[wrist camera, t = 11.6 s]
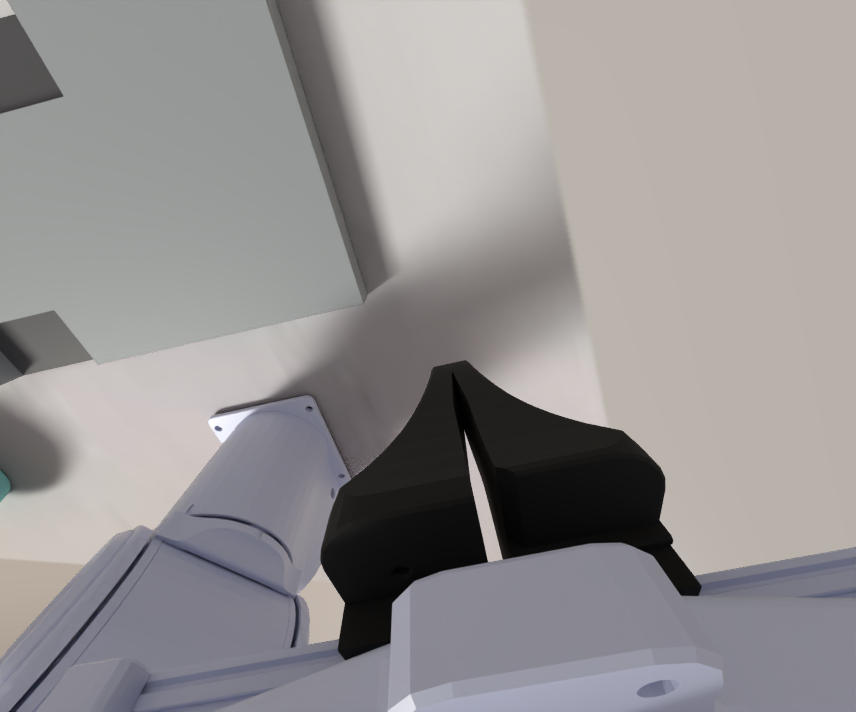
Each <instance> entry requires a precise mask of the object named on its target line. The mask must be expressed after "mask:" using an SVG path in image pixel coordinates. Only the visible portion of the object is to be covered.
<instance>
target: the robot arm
mask: <svg viewBox="0 0 856 712" xmlns="http://www.w3.org/2000/svg"><path fill="white" fill-rule="evenodd" d="M307 406H310V407H312V408H313V409H309V408H308V407H307ZM208 424H209V425H210V427H211V428H212V430H213V431H214V433H215V434H216V436H217V437H218V439H219V440H220V442H221V443H222V445H221V446H220V448H219V449H218V450H217V451H216V453H215V454H214V455H213V457H212V458H211V459H210V460H209V462H208V463H207V464H206V465H205V467H204V468H203V469H202V471H201V472H200V473H199V474H198V476H197V477H196V478H195V479H194V481H193V482H192V483H191V485H190V486H189V487H188V488H187V490H186V491H185V492H184V493H183V495H182V496H181V497H180V499H179V500H178V501H177V502H176V504H175V505H174V506H173V507H172V509H171V510H170V511H169V513H168V514H167V515H166V516H165V518H164V519H163V520H162V521H161V523H160V524H159V525H158V526H157V527H156V528H155V529H154V530H153V531H152V530H151V529H149V528H147V527H145V526H142V525H140V526H137V527H136V528H134V529H133V530H128V531H125V532H122V533H119V534H116V535H115V536H114V537H113V538H112V539H111V540H109V541H108V542H107V543H106V544H105V545H104V546H103V547H102V548H101V549H100V551H99V552H98V553H97V554H96V555H95V556H94V557H93V558H92V559H91V560H90V561H89V562H88V563H87V564H86V565H85V566H84V567H83V568H82V569H81V570H80V571H79V573H78V574H77V575H76V576H75V577H74V578H73V579H72V580H71V581H70V582H69V583H68V584H67V585H66V586H65V587H64V589H63V590H62V591H61V592H60V593H59V594H58V595H57V596H56V597H55V598H54V599H53V600H52V601H51V603H50V604H49V605H48V606H47V607H46V608H45V609H44V610H43V611H42V613H40V615H39V616H38V617H37V618H36V619H35V620H34V621H33V622H32V623H31V624H30V626H29V627H28V628H27V629H26V630H25V631H24V632H23V633H22V634H21V635H20V637H19V638H18V639H17V640H16V641H15V642H14V643H13V644H12V645H11V647H10V648H9V649H8V650H7V651H6V652H5V653H4V654H3V656H2V657H1V658H0V712H856V547H854V548H848V549H843V550H837V551H831V552H826V553H821V554H815V555H809V556H803V557H798V558H792V559H786V560H781V561H775V562H770V563H764V564H758V565H753V566H747V567H742V568H736V569H730V570H725V571H719V572H713V573H708V574H702V575H697V576H694V575H693V574H692V572H691V571H690V570H689V569H688V567H687V566H686V565H685V563H684V562H683V561H682V560H681V558H680V557H679V556H678V554H677V553H676V552H675V550H674V549H673V548H672V547H671V544H672V543H673V539H672V536H671V534H670V533H669V532H668V531H667V529H666V528H665V527H664V526H663V524H662V523H661V522H660V521H659V519H660V514H661V509H662V504H663V498H664V493H665V476H664V474H663V472H662V470H661V468H660V467H659V466H658V465H657V464H656V463H655V461H654V460H652V458H651V457H650V456H649V455H648V454H647V453H646V452H645V451H644V450H643V449H642V448H641V447H640V446H639V445H638V444H637V443H636V442H635V441H633V440H632V439H631V438H630V437H629V436H628V435H627V434H625V433H624V432H623V431H621V430H616V429H611V428H607V427H602V426H597V425H592V424H587V423H583V422H579V421H576V420H572V419H568V418H565V417H562V416H559V415H555V414H552V413H550V412H547V411H545V410H542V409H539V408H537V407H534V406H532V405H530V404H527V403H525V402H523V401H521V400H519V399H517V398H515V397H513V396H512V395H510V394H508V393H507V392H505V391H504V390H502V389H501V388H499V387H498V386H496V385H495V384H493V383H492V382H491V381H489V380H488V379H487V378H486V377H484V376H483V375H482V374H481V373H480V372H478V371H477V370H476V369H475V368H474V367H473V366H472V365H471V364H470V363H469V362H467V361H466V360H465V361H460V362H455V363H451V364H446V365H442V366H437V367H434V368H433V369H432V371H431V376H430V379H429V382H428V385H427V387H426V390H425V392H424V394H423V396H422V399H421V401H420V402H419V404H418V406H417V408H416V410H415V412H414V413H413V415H412V417H411V418H410V420H409V421H408V423H407V424H406V426H405V427H404V429H403V430H402V431H401V433H400V434H399V435H398V436H397V437H396V438H395V440H394V441H393V442H392V443H391V444H390V445H389V446H388V448H387V449H386V450H385V451H384V452H383V453H382V454H381V455H380V456H378V457H377V458H376V459H375V460H374V461H373V462H372V463H371V464H370V465H369V466H367V467H366V468H365V469H364V470H363V471H361V472H360V473H359V474H357V475H356V476H355V477H354V478H352V479H351V477H350V475H349V473H348V471H347V468H346V466H345V464H344V462H343V460H342V458H341V456H340V453H339V451H338V449H337V447H336V445H335V443H334V441H333V438H332V436H331V434H330V432H329V430H328V428H327V425H326V423H325V421H324V419H323V417H322V415H321V413H320V410H319V408H318V406H317V404H316V402H315V400H314V398H313V397H311V396H309V395H304V396H300V397H295V398H291V399H286V400H281V401H277V402H272V403H268V404H263V405H258V406H254V407H249V408H245V409H240V410H235V411H231V412H226V413H221V414H217V415H213V416H211V417H210V419H209V420H208ZM219 426H220V427H221V428H220V427H219ZM464 431H465V433H466V436H467V439H468V442H469V445H470V447H471V450H472V453H473V456H474V458H475V461H476V464H477V467H478V470H479V472H480V475H481V478H482V481H483V484H484V487H485V491H486V495H487V499H488V502H489V506H490V510H491V514H492V518H493V522H494V526H495V530H496V534H497V538H498V542H499V546H500V550H501V554H502V558H503V560H499V561H494V562H488V560H487V556H486V551H485V546H484V542H483V537H482V533H481V528H480V523H479V519H478V514H477V510H476V505H475V500H474V496H473V491H472V487H471V482H470V474H469V466H468V458H467V450H466V442H465V434H464ZM341 474H344V475H341ZM321 564H322V566H323V569H324V571H325V573H326V574H327V576H328V577H329V579H330V581H331V582H332V584H333V585H334V587H335V588H336V590H337V591H338V593H339V594H340V596H341V597H342V599H343V600H344V602H345V607H344V613H343V619H342V626H341V631H340V638H339V639H338V640H333V641H327V642H321V643H315V644H310V645H309V623H310V619H309V609H308V605H307V603H306V601H305V600H304V598H302V597H301V596H299V595H297V594H298V593H299V592H300V591H301V590H302V589H303V588H304V587H305V586H306V585H307V584H308V583H309V582H310V580H311V579H312V578H313V576H314V575H315V573H316V572H317V570H318V568H319V567H320V565H321Z"/></svg>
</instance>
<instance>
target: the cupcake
mask: <svg viewBox="0 0 856 712" xmlns="http://www.w3.org/2000/svg"><path fill="white" fill-rule="evenodd" d="M10 488H11V485H10V481H9V479H8V478H7V477H6V475H5V474H4V473H3V472H2V471H0V502H1V501H2V500H3V498H4V497H5V496H6V495H7V494H8V493H9V491H10Z"/></svg>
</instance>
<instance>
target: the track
mask: <svg viewBox="0 0 856 712" xmlns="http://www.w3.org/2000/svg"><path fill="white" fill-rule="evenodd" d="M7 1H8V3H9V5H10V6H11V8H12V10H13V11H14V13H15V15H11V16H8V17H4V18H1V19H0V385H2V384H5V383H7V382H9V381H11V380H14V379H16V378H18V377H21V376H23V375H27V374H31V373H35V372H40V371H44V370H48V369H53V368H57V367H61V366H66V365H70V364H74V363H79V362H83V361H87V360H92V359H94V360H95V362H96V363H97V364H98V365H99V364H103V363H108V362H112V361H117V360H121V359H125V358H130V357H134V356H138V355H143V354H147V353H151V352H156V351H160V350H165V349H169V348H173V347H178V346H182V345H186V344H191V343H195V342H199V341H204V340H208V339H213V338H217V337H221V336H226V335H230V334H234V333H239V332H243V331H247V330H252V329H256V328H261V327H265V326H269V325H274V324H278V323H282V322H287V321H291V320H295V319H300V318H304V317H309V316H313V315H317V314H322V313H326V312H330V311H335V310H339V309H343V308H348V307H352V306H357V305H361V304H364V302H365V299H366V297H367V295H368V294H367V291H366V288H365V285H364V282H363V278H362V275H361V272H360V269H359V266H358V262H357V259H356V256H355V253H354V250H353V246H352V243H351V240H350V237H349V233H348V230H347V227H346V224H345V221H344V217H343V214H342V211H341V208H340V205H339V201H338V198H337V195H336V192H335V188H334V185H333V182H332V179H331V176H330V172H329V169H328V166H327V163H326V160H325V156H324V153H323V150H322V147H321V144H320V140H319V137H318V134H317V131H316V127H315V124H314V121H313V118H312V115H311V111H310V108H309V105H308V102H307V99H306V95H305V92H304V89H303V86H302V82H301V79H300V76H299V73H298V70H297V66H296V63H295V60H294V57H293V54H292V50H291V47H290V44H289V41H288V37H287V34H286V31H285V28H284V25H283V21H282V18H281V15H280V12H279V9H278V5H277V2H276V0H7Z"/></svg>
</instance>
